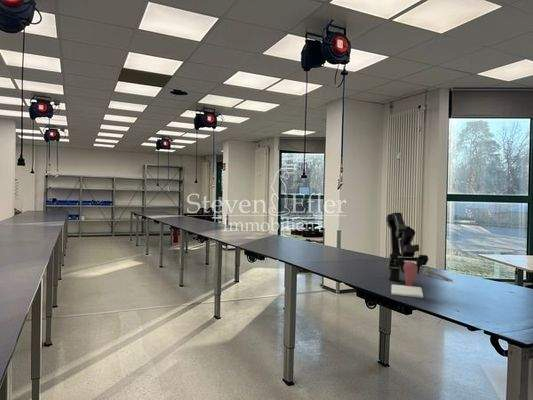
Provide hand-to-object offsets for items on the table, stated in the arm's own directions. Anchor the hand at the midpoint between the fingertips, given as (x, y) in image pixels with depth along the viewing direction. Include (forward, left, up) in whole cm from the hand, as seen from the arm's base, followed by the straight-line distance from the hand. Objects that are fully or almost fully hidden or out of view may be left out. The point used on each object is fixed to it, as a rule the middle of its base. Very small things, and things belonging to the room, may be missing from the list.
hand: (410, 273), depth 196 cm
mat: (-7, -1, -11) cm, 13 cm away
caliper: (-49, +18, -11) cm, 53 cm away
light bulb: (-1, 0, -7) cm, 7 cm away
